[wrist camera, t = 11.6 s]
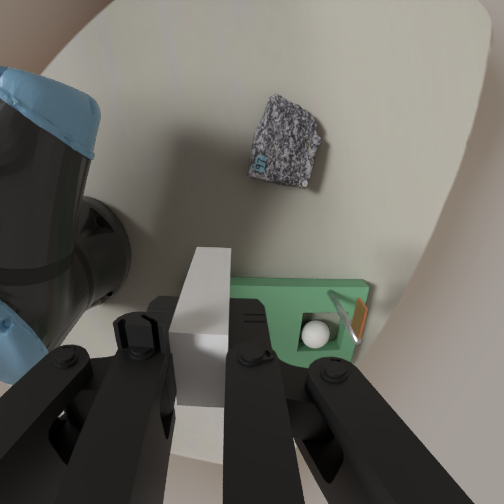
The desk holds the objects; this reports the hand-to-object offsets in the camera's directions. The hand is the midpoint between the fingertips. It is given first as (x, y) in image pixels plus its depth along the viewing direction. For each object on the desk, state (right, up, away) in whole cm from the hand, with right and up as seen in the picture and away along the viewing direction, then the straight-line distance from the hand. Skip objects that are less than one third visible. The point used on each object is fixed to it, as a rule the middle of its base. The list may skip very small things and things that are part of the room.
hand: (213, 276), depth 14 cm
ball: (+11, -10, +28) cm, 32 cm away
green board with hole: (+5, -9, +29) cm, 31 cm away
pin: (+12, -3, +25) cm, 28 cm away
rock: (+5, +14, +22) cm, 26 cm away
